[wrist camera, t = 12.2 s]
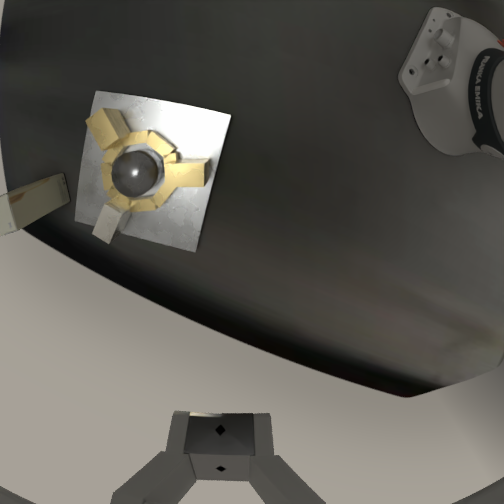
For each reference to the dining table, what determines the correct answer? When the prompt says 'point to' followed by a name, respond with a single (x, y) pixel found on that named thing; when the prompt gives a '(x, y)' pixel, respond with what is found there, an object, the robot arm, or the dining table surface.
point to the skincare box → (31, 202)
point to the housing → (154, 167)
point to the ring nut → (115, 142)
